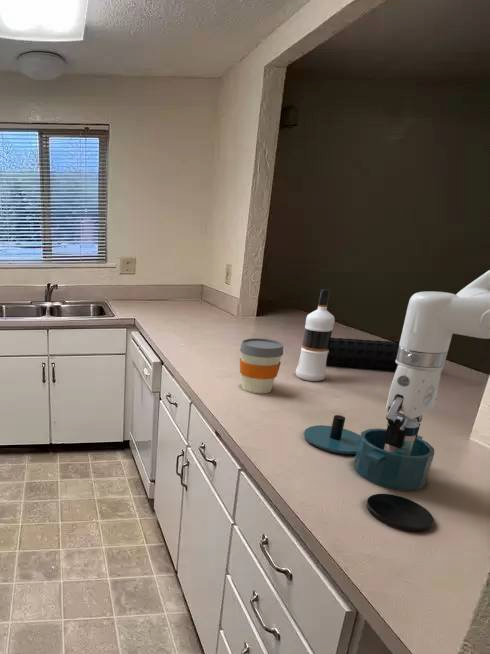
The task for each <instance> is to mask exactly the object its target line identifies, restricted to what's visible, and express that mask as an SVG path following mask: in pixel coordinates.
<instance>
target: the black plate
mask: <svg viewBox="0 0 490 654" xmlns="http://www.w3.org/2000/svg"><path fill="white" fill-rule="evenodd" d="M366 509H367V511H368V513H369V514H370V515H371V516H372V517H373V518H375V519H376V520H378V521H379V522H381V523H382V524H384V525H387V526H389V527H391V528H394V529H396V530H399V531H404V532H408V533H424V532H428V531H429V530H431V529H432V527H433V524H434V521H435V520H434V517H433V515H432V513H431V512H430V511H429V510H428V509H427V508H426V507H424V506H423V505H422V504H419V503H417V502H416V501H414V500H411V499H409V498H406V497H403V496H400V495H396V494H392V493H375V494H372V495H370V496H369V497H368V498H367V500H366Z"/></svg>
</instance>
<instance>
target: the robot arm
mask: <svg viewBox="0 0 490 654" xmlns="http://www.w3.org/2000/svg"><path fill="white" fill-rule="evenodd" d="M401 331H402V332H401V335H400V339H399V342H400V344H399V348H398V352H397V357H396V361H395V362H396V363H397V364H399V365H398V367H397V369H396V370H395V372H394V376H393V378H392V382H391V384H390V388H389V392H388V396H387V399H386V407H385V409H386V411H387V413H386V415H385V420H387V424H386V427H387V428H386V429H387V431H386V435H385V439H384V442H385V443H386V444H389V445H391V446H394V447H397V448H402V447H403V443H404V439H405V435H406V431H407V430H404V429H405V427H406V424H407V421H408V419H414V418H416V419H417V421H418V423H419V427H418V430H417V434H416V437H415V440H416V438H417V435H418V436H419V434H418V433H419V431H420V426H421V422H422V420H423V417H424V416H423V415H425V414H427V413H429V412H431V411H432V410H433V409H434V408H435V406H436V404H437V403H436V402H437V398H438V393H439V388H440V384H441V383H440V382H441V377H442V370H443V369H444V367H445V363H446V360H447V356H448V352H449V349H450V344H451V341H452V338H453V335H460V336H466V337H471V338H477V339H485V340H486V339H487V340H490V269H489V270H487V271H486V272H484V273H483V274H481V275H480V276H479V277H476V278H475V279H474V280H473V281H471V282H470V283H469V284H467V285H466V286H464V287H463V288H462V289H461V290H459V291H458V292H457V293H456V294H455V293H453V292H452V293H451V292H446V291H445V292H444V291H434V290H433V291H419V292H415V293H414V294H412V295H411V296H410V298H409V301H408V303H407V309H406V313H405V318H404V322H403V327H402V330H401ZM401 412H402V413H401ZM397 416H399V417H402V418H403V419H402V422H401V421H400V419H398V418H397Z"/></svg>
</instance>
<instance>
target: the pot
mask: <svg viewBox="0 0 490 654" xmlns="http://www.w3.org/2000/svg"><path fill="white" fill-rule="evenodd" d="M386 431H387V428H368V429H365V430H363V431H361V432H360V440H359V444H358V448H357V452H356V454H355V457H354V461H353V469H354V470H355V472H356V473H357V474H358V475H359V476H361V478H363V479H364V480H367V481H369V482H371V483H373V484H375V485H378V486H381V487H384V488H388V489H391V490H396V491H405V492H407V491H408V492H409V491H417V490H420V489H422V488H423V487H424V486H425V484H426V482H427V479H428V476H429V472H430V468H431V466H432V464H433V459H434V456H435V448H434V447H433V446H432V445H431V444H430V443H429V442H428V441H425V440H424V439H423V436H422V435H419V434H418V435H417V438H416V440H415V441H414V445H413V449H412V453H411V456H407V455H400V454H396V453H392V452H388V451H385V450H384V447H385V442H384V439H385V435H386Z"/></svg>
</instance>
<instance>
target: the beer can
mask: <svg viewBox="0 0 490 654" xmlns="http://www.w3.org/2000/svg"><path fill="white" fill-rule="evenodd" d="M397 418H398V419H400V421H401V422H402V419H403V418H402V417H399V416H397ZM418 427H419V422H418V421H417V419H416V418H414V419H408V421H407V424H406V427H405V429H404V430H407V431H406V435H405V439H404V443H403V447H402V448H397V447H394V446H391V445H389V444H386V443H385V447H384V450H385V451H388V452H392V453H396V454H400V455H407V456H411V453H412V449H413V445H414V441H415V437H416V434H417V430H418ZM419 428H420V427H419Z"/></svg>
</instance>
